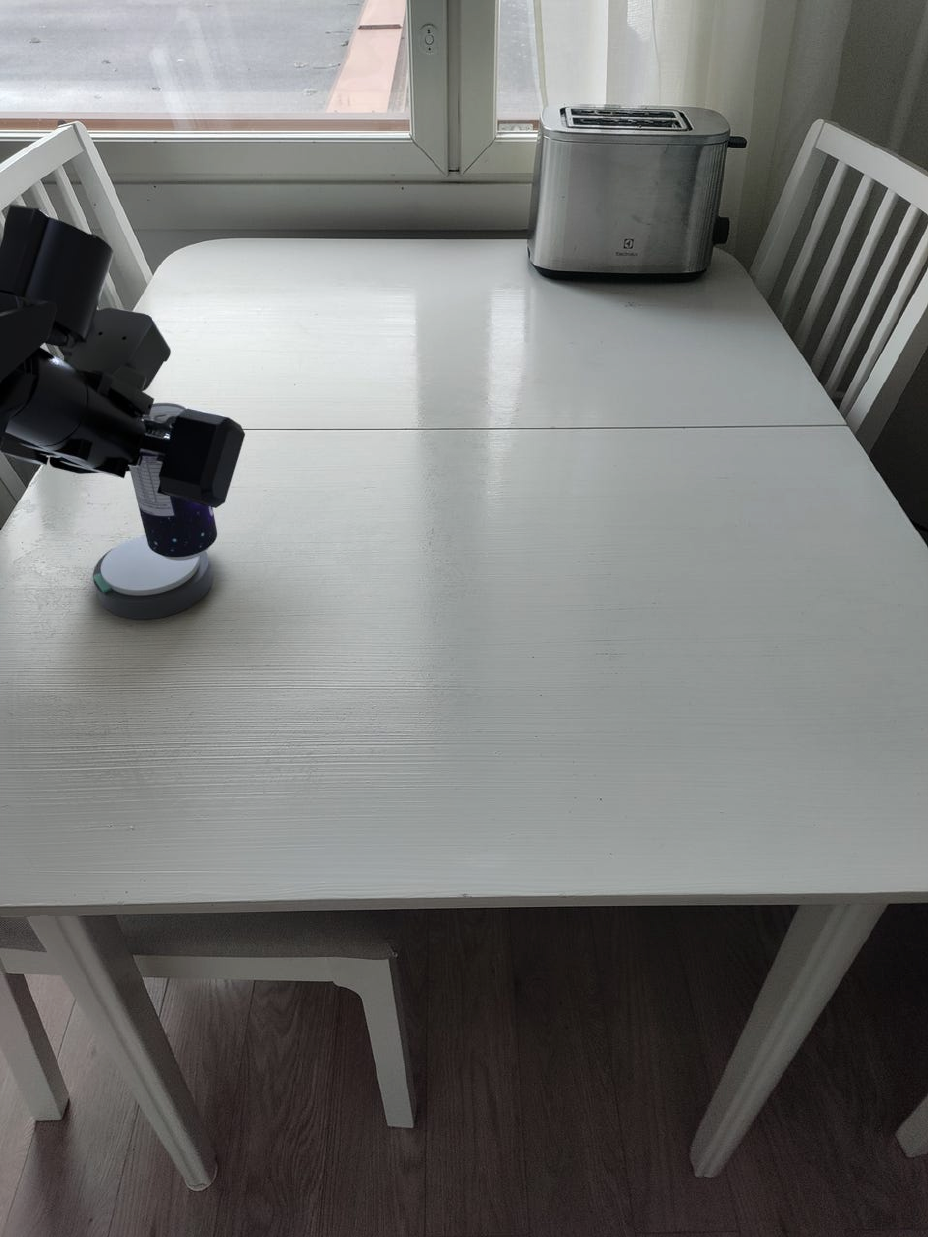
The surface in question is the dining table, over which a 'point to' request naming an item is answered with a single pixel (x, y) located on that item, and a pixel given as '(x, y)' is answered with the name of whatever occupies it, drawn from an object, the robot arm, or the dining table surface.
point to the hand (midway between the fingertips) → (179, 470)
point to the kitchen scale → (149, 581)
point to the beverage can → (170, 506)
